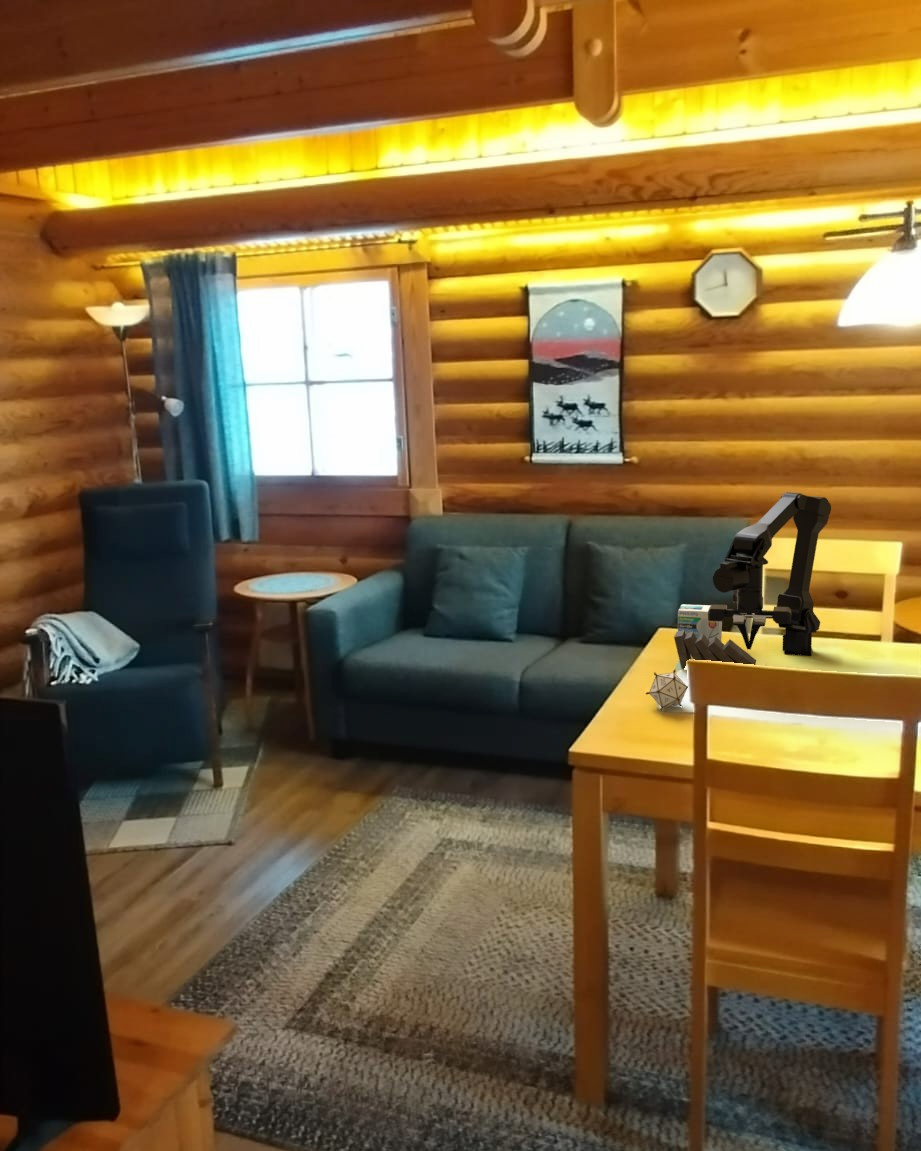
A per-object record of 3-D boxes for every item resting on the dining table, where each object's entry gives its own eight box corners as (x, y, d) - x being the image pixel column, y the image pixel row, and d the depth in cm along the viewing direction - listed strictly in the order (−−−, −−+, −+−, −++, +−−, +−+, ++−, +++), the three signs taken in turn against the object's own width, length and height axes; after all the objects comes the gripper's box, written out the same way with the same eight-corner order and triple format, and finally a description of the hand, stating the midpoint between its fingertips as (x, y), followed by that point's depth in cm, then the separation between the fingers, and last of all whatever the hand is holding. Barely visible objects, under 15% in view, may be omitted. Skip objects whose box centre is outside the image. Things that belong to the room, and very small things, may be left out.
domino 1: (691, 661, 250) (684, 630, 249) (689, 667, 246) (682, 635, 245) (683, 662, 251) (676, 631, 250) (681, 668, 247) (673, 637, 245)
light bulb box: (677, 650, 263) (677, 609, 260) (680, 643, 269) (680, 603, 267) (719, 652, 259) (720, 611, 257) (722, 645, 265) (722, 605, 263)
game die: (675, 725, 220) (690, 699, 213) (638, 711, 221) (652, 684, 214) (683, 695, 226) (698, 668, 219) (647, 681, 227) (660, 654, 220)
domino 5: (756, 660, 245) (729, 638, 246) (755, 666, 241) (728, 644, 242) (750, 666, 246) (724, 644, 247) (749, 672, 241) (722, 650, 242)
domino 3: (723, 659, 248) (703, 633, 248) (721, 665, 243) (701, 639, 243) (716, 664, 249) (696, 638, 249) (714, 670, 244) (694, 643, 244)
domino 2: (707, 660, 249) (693, 631, 249) (705, 666, 244) (690, 636, 244) (700, 663, 250) (685, 634, 250) (698, 669, 245) (683, 640, 245)
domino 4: (739, 659, 247) (715, 636, 247) (738, 665, 242) (713, 642, 243) (733, 665, 247) (709, 641, 248) (732, 671, 243) (707, 647, 243)
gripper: (792, 578, 244) (790, 641, 247) (712, 576, 250) (712, 638, 253) (791, 589, 234) (789, 654, 237) (707, 586, 240) (707, 650, 243)
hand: (748, 648), depth 243 cm, fingers closed
